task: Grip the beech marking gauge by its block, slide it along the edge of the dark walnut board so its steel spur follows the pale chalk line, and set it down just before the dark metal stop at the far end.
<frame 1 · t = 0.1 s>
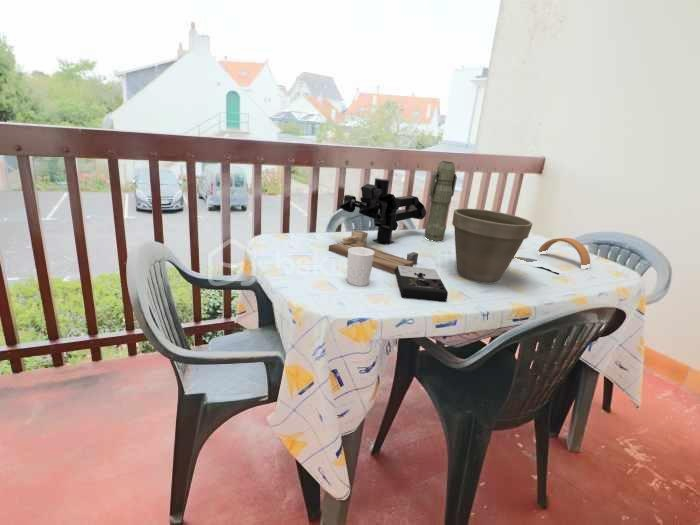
hand: (349, 209, 136), 17 cm above the table, tool horizontal, fingers open, 9 cm apart
marking gauge: (358, 246, 151), on the table
cloth: (539, 267, 150), on the table
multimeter: (418, 288, 116), on the table
plant pot: (478, 276, 131), on the table
arch: (561, 262, 159), on the table
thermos: (433, 239, 173), on the table
white cup: (357, 282, 115), on the table
walnut board: (369, 258, 137), on the table
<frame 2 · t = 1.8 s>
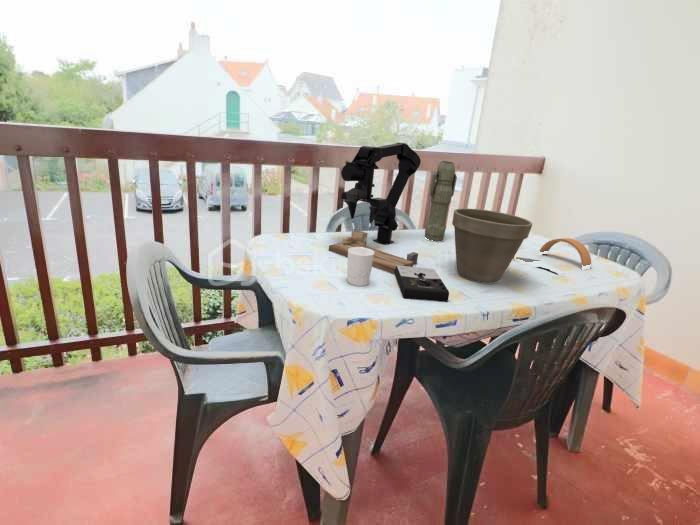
hand: (361, 220, 147), 11 cm above the table, tool pointing down, fingers open, 9 cm apart
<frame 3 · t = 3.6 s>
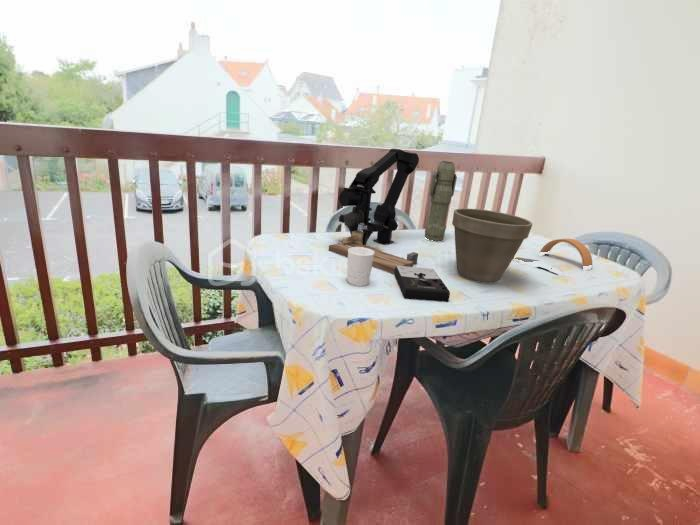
hand: (358, 243, 150), 1 cm above the table, tool pointing down, fingers closed on marking gauge, 5 cm apart
marking gauge: (358, 246, 151), on the table, touching gripper
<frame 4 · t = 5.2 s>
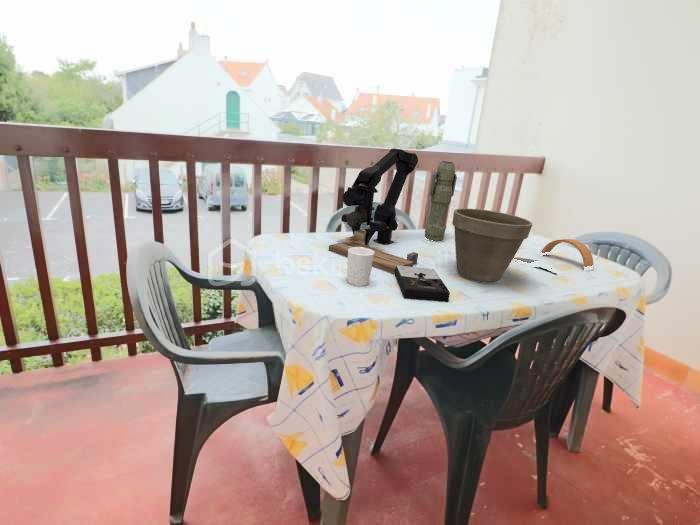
hand: (361, 242, 149), 2 cm above the table, tool pointing down, fingers closed on marking gauge, 5 cm apart
marking gauge: (360, 246, 150), on the table, touching gripper
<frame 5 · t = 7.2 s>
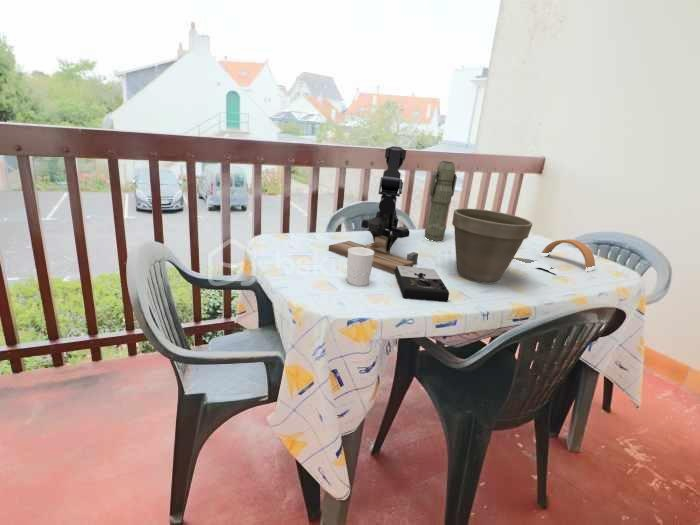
hand: (382, 249, 143), 2 cm above the table, tool pointing down, fingers closed on marking gauge, 5 cm apart
marking gauge: (381, 252, 144), point 1 cm above the table, touching gripper
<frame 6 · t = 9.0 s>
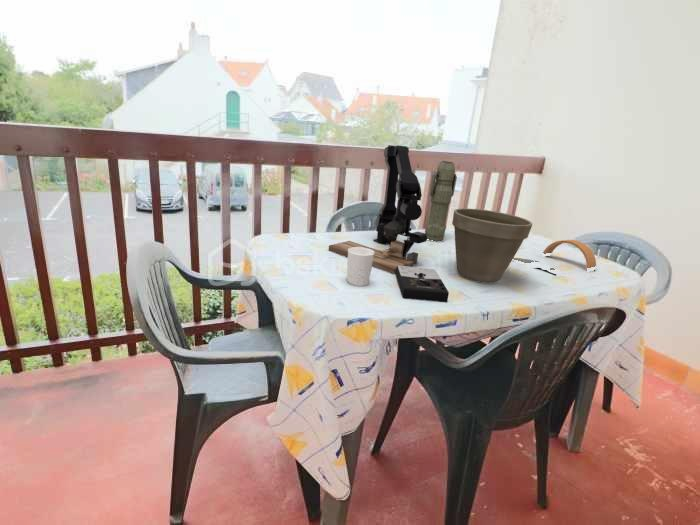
hand: (397, 254, 139), 2 cm above the table, tool pointing down, fingers closed on marking gauge, 5 cm apart
marking gauge: (397, 258, 139), on the table, touching gripper
when the fingers open (1 cm above the table, at t = 10.7 s): marking gauge stays where it is, on the table.
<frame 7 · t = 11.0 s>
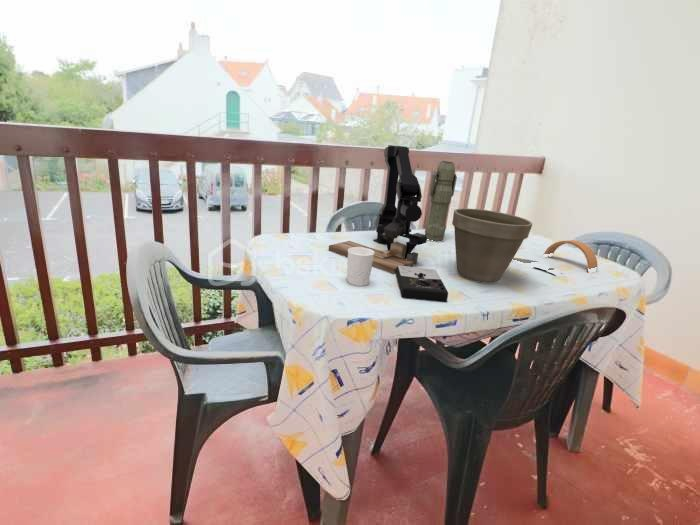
hand: (397, 256, 139), 1 cm above the table, tool pointing down, fingers open, 7 cm apart
marking gauge: (397, 259, 140), on the table
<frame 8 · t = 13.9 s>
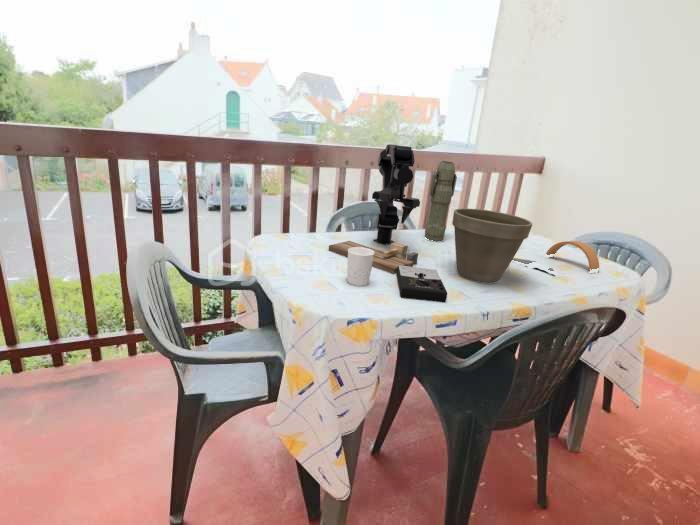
hand: (392, 220, 146), 12 cm above the table, tool pointing down, fingers open, 9 cm apart
at the end: marking gauge 0.3 cm from the target spot, on the table; marking gauge tilted 0°; the gripper is holding nothing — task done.
